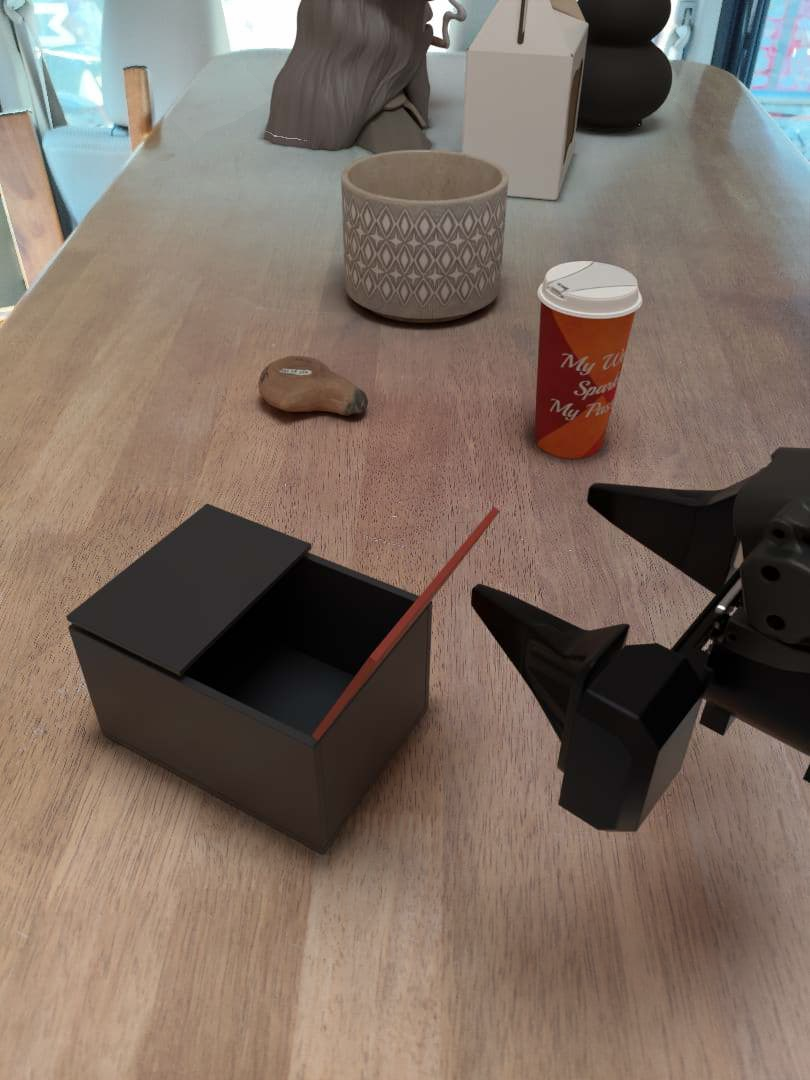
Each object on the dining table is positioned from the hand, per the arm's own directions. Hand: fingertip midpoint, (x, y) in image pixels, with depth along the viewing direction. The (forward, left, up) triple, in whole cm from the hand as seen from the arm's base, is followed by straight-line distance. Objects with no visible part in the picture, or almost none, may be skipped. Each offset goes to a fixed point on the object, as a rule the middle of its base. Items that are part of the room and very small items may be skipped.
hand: (535, 539), depth 40 cm
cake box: (+58, -86, -16) cm, 105 cm away
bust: (+91, -89, -16) cm, 128 cm away
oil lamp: (+35, -20, -16) cm, 43 cm away
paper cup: (+15, -30, -16) cm, 37 cm away
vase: (+61, -116, -16) cm, 132 cm away
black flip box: (+12, +6, -16) cm, 21 cm away
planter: (+42, -44, -16) cm, 63 cm away
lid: (+3, +5, -3) cm, 7 cm away
